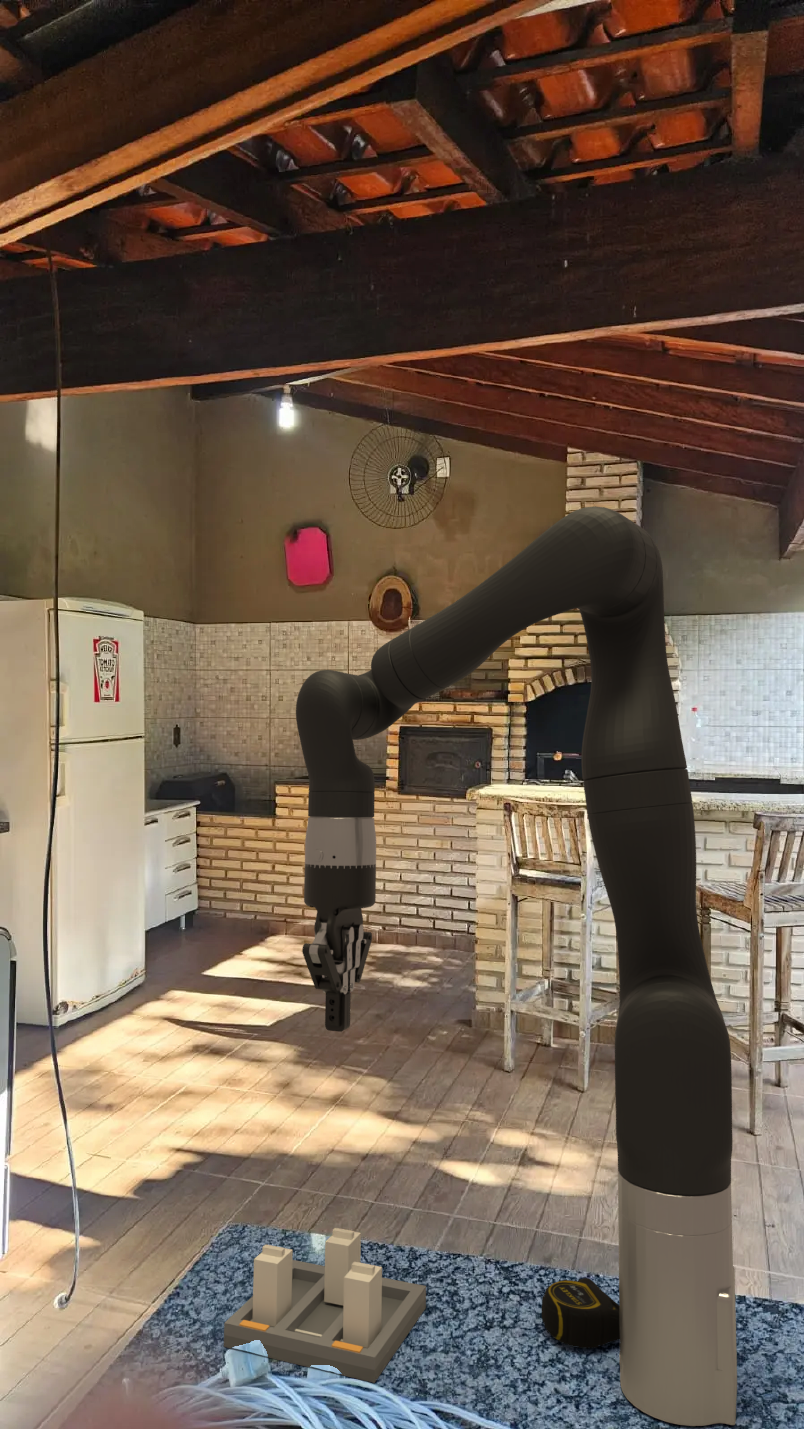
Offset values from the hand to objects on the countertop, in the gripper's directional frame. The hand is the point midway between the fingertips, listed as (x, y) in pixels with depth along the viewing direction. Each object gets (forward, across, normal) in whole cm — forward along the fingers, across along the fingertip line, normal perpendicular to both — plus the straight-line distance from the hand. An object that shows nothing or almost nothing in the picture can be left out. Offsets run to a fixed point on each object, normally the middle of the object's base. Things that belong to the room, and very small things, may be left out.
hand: (337, 1029), depth 99 cm
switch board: (+25, -8, -3) cm, 26 cm away
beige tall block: (+24, -10, -7) cm, 27 cm away
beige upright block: (+24, -4, -3) cm, 24 cm away
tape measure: (+25, 0, -25) cm, 36 cm away
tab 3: (+24, -10, +1) cm, 26 cm away
